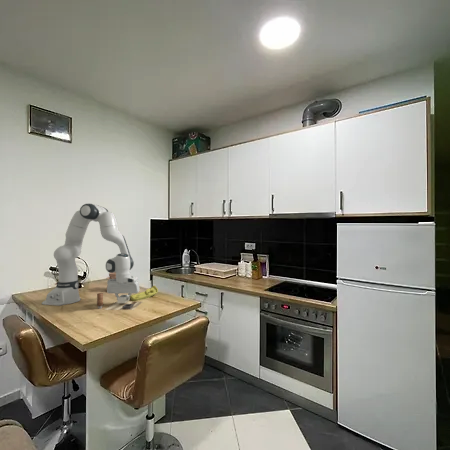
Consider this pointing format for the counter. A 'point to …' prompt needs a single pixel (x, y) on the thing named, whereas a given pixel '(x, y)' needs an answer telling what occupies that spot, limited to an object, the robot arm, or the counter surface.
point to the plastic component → (144, 294)
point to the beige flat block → (123, 306)
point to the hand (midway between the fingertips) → (123, 300)
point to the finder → (122, 299)
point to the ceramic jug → (111, 276)
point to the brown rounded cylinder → (99, 300)
